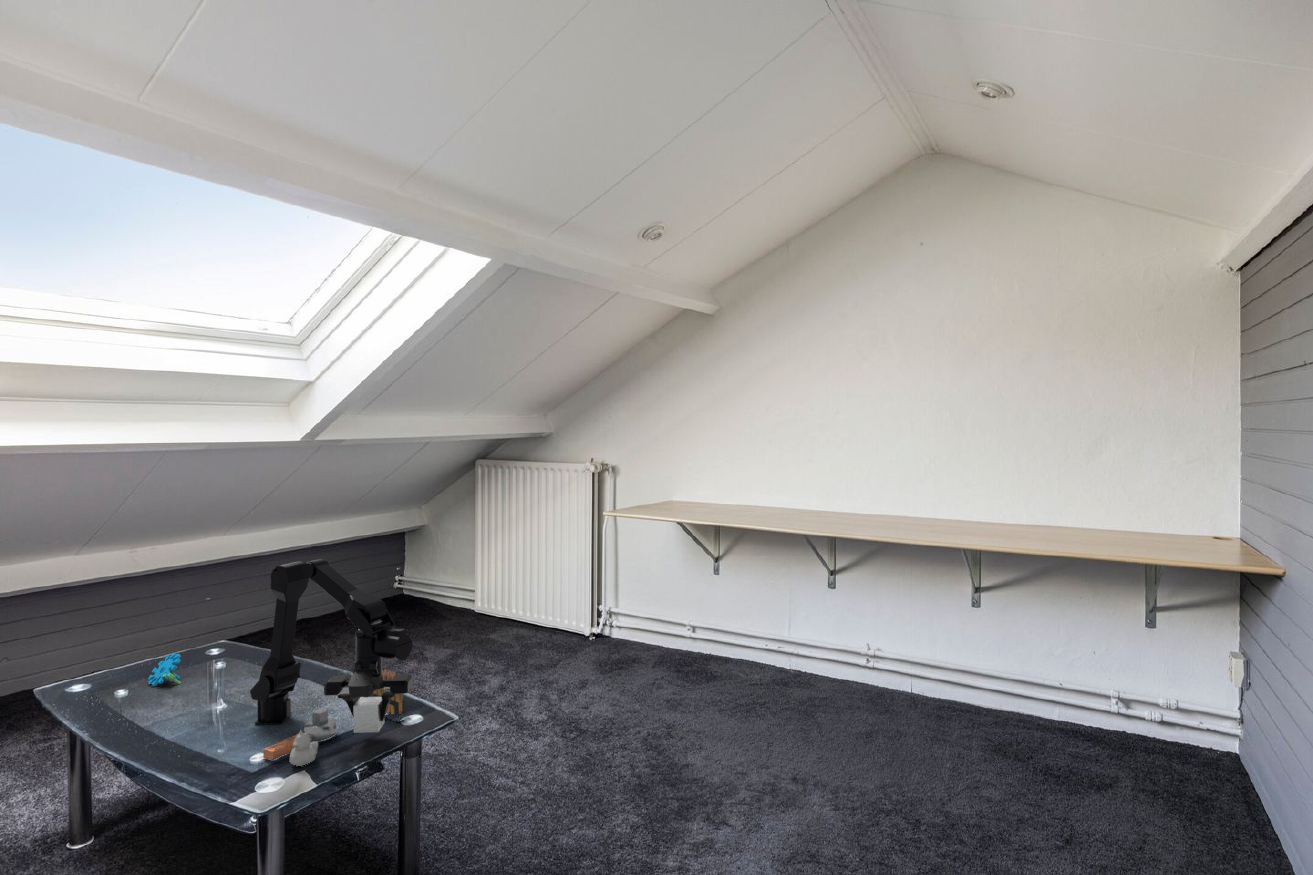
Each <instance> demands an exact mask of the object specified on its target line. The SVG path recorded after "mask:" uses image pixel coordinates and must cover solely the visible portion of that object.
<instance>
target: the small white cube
mask: <svg viewBox="0 0 1313 875" xmlns="http://www.w3.org/2000/svg"><path fill="white" fill-rule="evenodd" d="M381 705H382V698H381V697H372V696H369V697H359V698H358V701H357V702H356V703H355V705H354V706H353V713H354V718H353V733H354V734H355V733H357V734H358V733H359V734H361V733H379V732H380V730H381V729H382V728H383V726H384V724H385V723H386V722H385V719H386V718H385V717H384V720H383V721H381Z"/></svg>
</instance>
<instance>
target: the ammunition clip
mask: <svg viewBox="0 0 1313 875" xmlns="http://www.w3.org/2000/svg"><path fill="white" fill-rule="evenodd" d="M382 672H383V677H382V678H383V680H384V679H393V677H394V676H395V674H400V672H398V673H396V672H395V671H393V673H392V671H391V670H389V669H388V671H387V669H386V668H384V670H383V668H382ZM384 691H385V690H384V688H381V689H380V690H375V691H373V692H372V695H371V697H381V695H382V694H383V693H384ZM386 712H388V713H389V712H391V714H395V715H399V714H402V713H403V714H404V715H405V701H404V699H403V694H396V695H395V696H394V697H392V698H391V700H390V703H389V706H388V709H387V711H386Z"/></svg>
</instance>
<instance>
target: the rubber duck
mask: <svg viewBox="0 0 1313 875" xmlns="http://www.w3.org/2000/svg"><path fill="white" fill-rule="evenodd" d="M299 730H300V731H299V732H298V733H297V734H298V735H297V734H296V735H297V737H296V738H295V740H294V743H293V745H294V748H293V749H292V751H291V753H290V754H289V763H290V764H291V765H293V766H295V765H296V766H295V767H298V766H301V767H303V766H302V765H305V764H307V765H309V764H311V763H312V762H314V761H315V759H316V755H317V754H318V748H319V742H311V743H310V737H309V736H308V735H307V734H306V733H304V731H302V729H301V728H300V729H299ZM303 733H304V734H303ZM310 762H311V763H310ZM308 763H309V764H308ZM305 766H306V765H305Z"/></svg>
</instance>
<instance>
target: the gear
mask: <svg viewBox="0 0 1313 875" xmlns="http://www.w3.org/2000/svg"><path fill="white" fill-rule="evenodd" d="M180 658H181V654H180V653H175V652H173V653H172V654H171V655H169V654H168V655H166V656H165V658H164V661H163V660H160V661H159V662H158V664H157V665H158V668H157V667H154V668H153V669H152V671H151V672H152V673H153V674H154V675H153V674H150V675H149V677H148V678H147V680H149V681H148V685H150V684H152V685H151V686H153V687H157V686H158V684H159V685H160V684H161V685H162V684H163V683H164V680H165V679H167V680H168V681H169V682H175V683H176V684H177V685H181V683H182V681H180V678H181V676H179V675H178V674H176V673H175V671H176V669H178V666H176V664H177V665H179V664H180V662H181V660H182V659H180Z"/></svg>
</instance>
